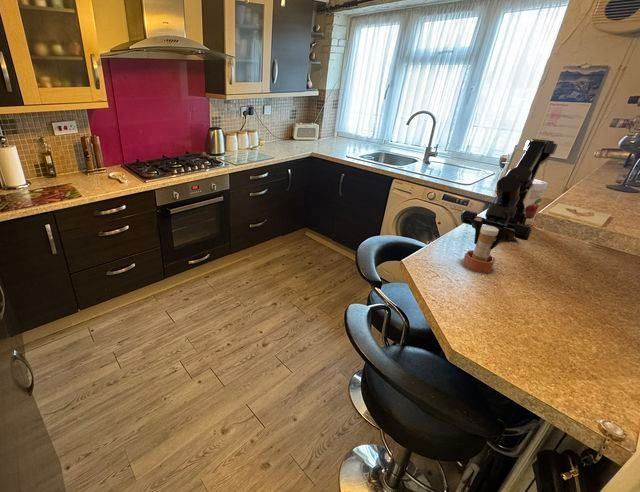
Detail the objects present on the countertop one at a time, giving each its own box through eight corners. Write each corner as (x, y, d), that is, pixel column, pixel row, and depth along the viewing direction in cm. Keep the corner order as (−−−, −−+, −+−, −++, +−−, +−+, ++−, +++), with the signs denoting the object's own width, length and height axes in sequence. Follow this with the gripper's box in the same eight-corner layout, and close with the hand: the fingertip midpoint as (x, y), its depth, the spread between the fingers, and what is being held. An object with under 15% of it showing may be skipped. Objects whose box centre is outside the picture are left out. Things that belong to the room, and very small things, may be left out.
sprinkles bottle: (476, 258, 112) (489, 223, 106) (489, 265, 108) (502, 229, 102) (466, 260, 111) (478, 225, 105) (478, 267, 107) (491, 231, 101)
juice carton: (501, 218, 145) (516, 178, 137) (518, 217, 145) (534, 177, 137) (516, 226, 138) (533, 184, 130) (534, 225, 139) (552, 183, 131)
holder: (479, 259, 113) (483, 249, 112) (496, 272, 106) (500, 262, 104) (457, 260, 113) (460, 250, 112) (473, 273, 106) (476, 262, 104)
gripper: (470, 187, 108) (449, 226, 106) (542, 203, 95) (520, 247, 93) (471, 203, 116) (452, 239, 114) (538, 219, 103) (517, 260, 101)
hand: (482, 246), depth 105 cm, fingers closed on sprinkles bottle, 4 cm apart
